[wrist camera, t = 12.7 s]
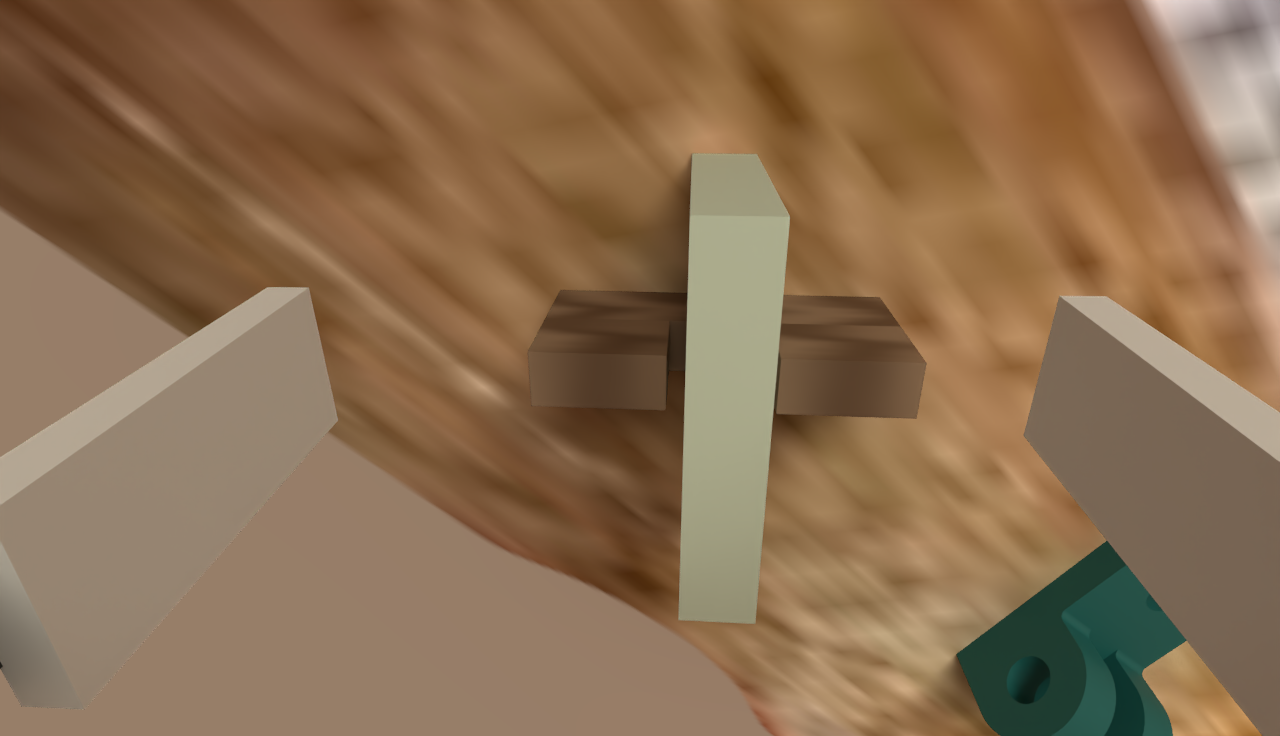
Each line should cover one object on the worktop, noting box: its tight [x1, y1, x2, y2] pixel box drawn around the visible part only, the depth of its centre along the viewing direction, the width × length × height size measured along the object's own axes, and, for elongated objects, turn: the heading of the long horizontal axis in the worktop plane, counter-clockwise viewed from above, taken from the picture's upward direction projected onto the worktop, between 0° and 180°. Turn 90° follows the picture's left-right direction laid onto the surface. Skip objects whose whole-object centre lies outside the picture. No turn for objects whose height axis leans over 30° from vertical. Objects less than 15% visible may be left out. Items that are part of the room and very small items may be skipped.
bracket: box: [957, 541, 1187, 736], centre depth 39 cm, size 18×7×8 cm, turn 144°
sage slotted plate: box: [679, 154, 790, 624], centre depth 31 cm, size 16×3×13 cm, turn 0°
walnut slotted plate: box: [528, 290, 926, 419], centre depth 33 cm, size 16×2×8 cm, turn 90°
